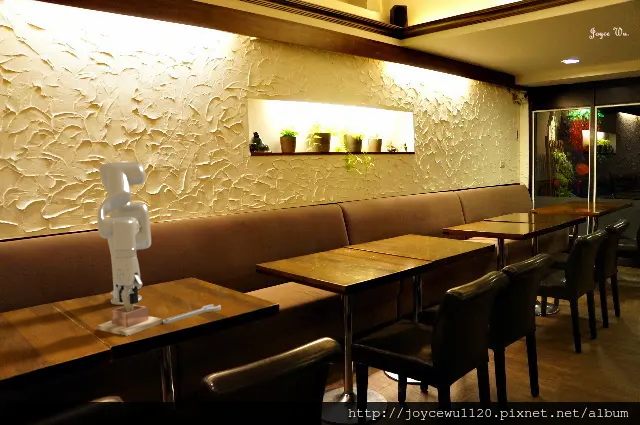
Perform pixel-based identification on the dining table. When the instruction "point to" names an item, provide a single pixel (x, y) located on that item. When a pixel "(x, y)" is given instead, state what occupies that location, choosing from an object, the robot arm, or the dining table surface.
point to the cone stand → (129, 321)
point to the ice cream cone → (127, 299)
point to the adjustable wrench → (192, 313)
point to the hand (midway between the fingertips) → (128, 301)
